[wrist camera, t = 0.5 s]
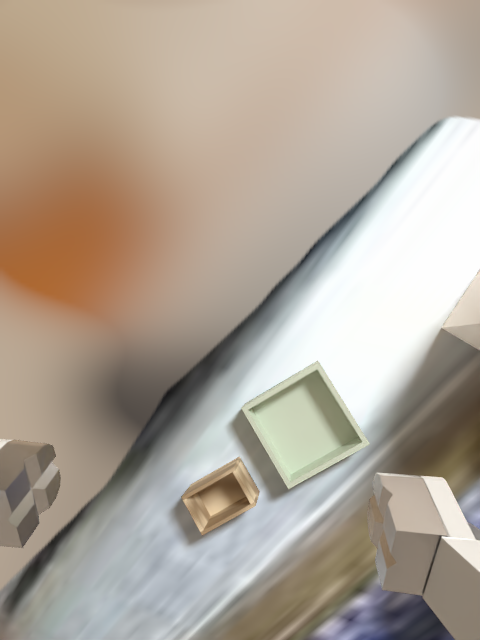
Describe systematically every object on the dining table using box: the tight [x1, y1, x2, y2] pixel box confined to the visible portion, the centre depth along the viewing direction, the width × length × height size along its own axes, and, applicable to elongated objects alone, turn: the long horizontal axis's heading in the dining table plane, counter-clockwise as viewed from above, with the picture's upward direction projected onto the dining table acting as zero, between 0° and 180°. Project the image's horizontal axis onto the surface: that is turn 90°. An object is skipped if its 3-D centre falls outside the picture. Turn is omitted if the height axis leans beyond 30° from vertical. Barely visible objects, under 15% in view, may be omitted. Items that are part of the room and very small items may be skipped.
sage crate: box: [241, 361, 369, 489], centre depth 56 cm, size 13×13×4 cm
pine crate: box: [181, 457, 259, 535], centre depth 57 cm, size 6×9×5 cm, turn 121°
